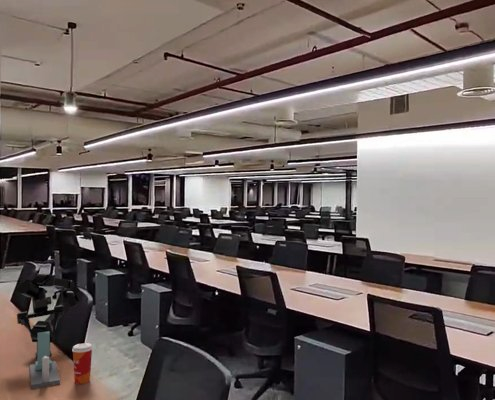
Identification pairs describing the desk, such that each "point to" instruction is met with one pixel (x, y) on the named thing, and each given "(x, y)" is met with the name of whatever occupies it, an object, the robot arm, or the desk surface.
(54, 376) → the track
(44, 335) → the teal upright block
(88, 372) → the paper cup
